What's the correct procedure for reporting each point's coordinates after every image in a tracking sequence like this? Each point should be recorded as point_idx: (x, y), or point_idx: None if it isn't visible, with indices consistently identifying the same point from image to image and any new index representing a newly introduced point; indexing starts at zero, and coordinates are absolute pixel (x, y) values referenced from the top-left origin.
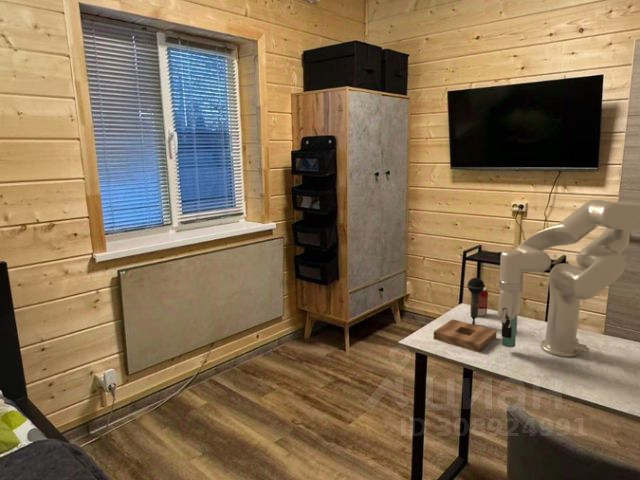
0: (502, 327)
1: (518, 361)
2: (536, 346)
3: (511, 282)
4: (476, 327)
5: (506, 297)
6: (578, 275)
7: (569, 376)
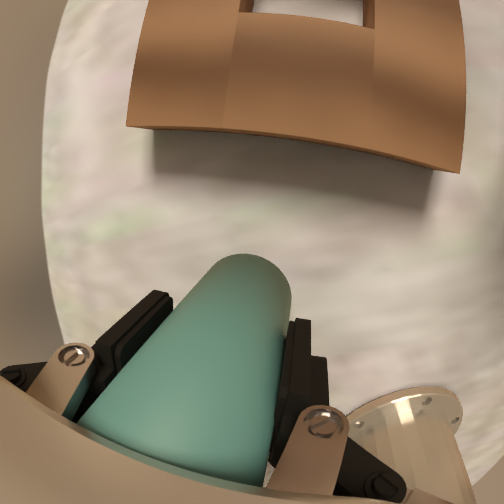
0: (109, 336)
1: None
2: (400, 375)
3: None
4: (431, 28)
5: None
6: None
7: None
